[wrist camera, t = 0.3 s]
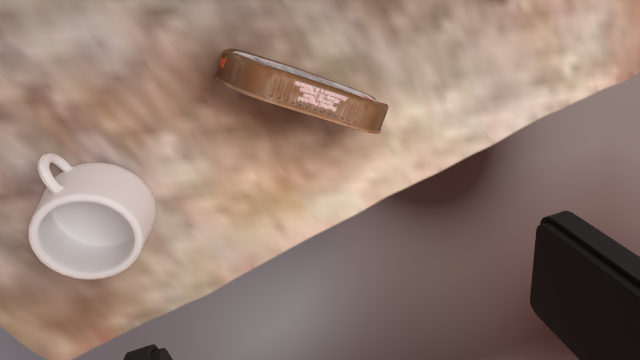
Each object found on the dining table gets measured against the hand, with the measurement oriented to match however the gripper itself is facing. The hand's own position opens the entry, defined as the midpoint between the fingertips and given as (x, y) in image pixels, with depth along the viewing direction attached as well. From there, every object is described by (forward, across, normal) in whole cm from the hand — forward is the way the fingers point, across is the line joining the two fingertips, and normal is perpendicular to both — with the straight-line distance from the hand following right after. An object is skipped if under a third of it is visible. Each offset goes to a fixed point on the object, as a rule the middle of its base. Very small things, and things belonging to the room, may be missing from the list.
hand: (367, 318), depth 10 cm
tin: (+31, -4, +2) cm, 31 cm away
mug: (+31, +18, +8) cm, 37 cm away
